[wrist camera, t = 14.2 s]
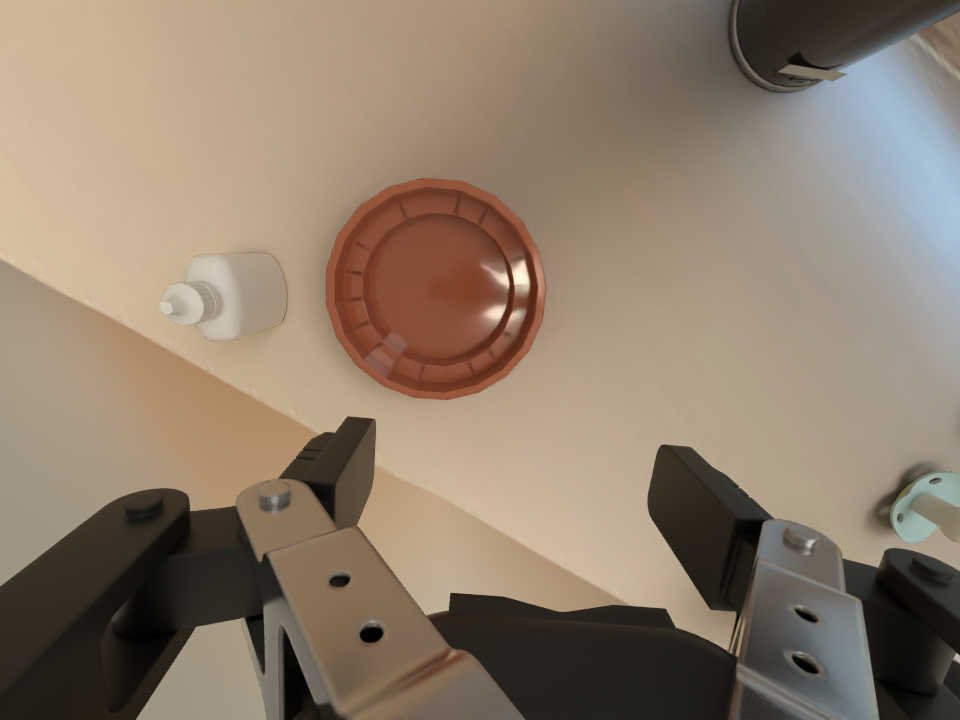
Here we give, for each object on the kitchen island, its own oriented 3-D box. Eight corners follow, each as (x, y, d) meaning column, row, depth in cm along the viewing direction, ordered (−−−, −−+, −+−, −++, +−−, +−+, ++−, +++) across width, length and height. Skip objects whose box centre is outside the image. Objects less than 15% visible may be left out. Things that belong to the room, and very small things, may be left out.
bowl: (346, 181, 34) (325, 168, 29) (545, 198, 34) (557, 188, 29) (344, 374, 37) (326, 392, 32) (525, 386, 38) (533, 406, 33)
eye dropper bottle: (227, 308, 36) (110, 335, 24) (252, 244, 35) (141, 240, 23) (278, 332, 36) (188, 371, 25) (305, 270, 35) (223, 279, 24)
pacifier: (965, 484, 41) (921, 453, 40) (1053, 525, 35) (1004, 491, 34) (909, 543, 42) (865, 515, 41) (984, 593, 36) (935, 562, 35)
